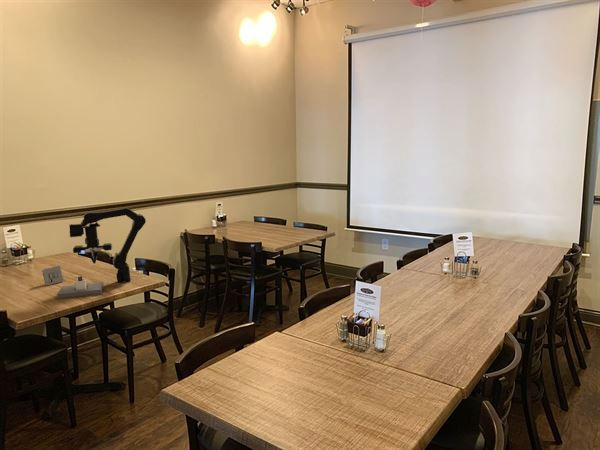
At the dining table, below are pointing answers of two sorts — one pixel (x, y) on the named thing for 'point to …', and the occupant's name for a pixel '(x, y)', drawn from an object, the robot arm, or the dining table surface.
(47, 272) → the electrical switch
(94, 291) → the socket plate
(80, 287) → the plug
